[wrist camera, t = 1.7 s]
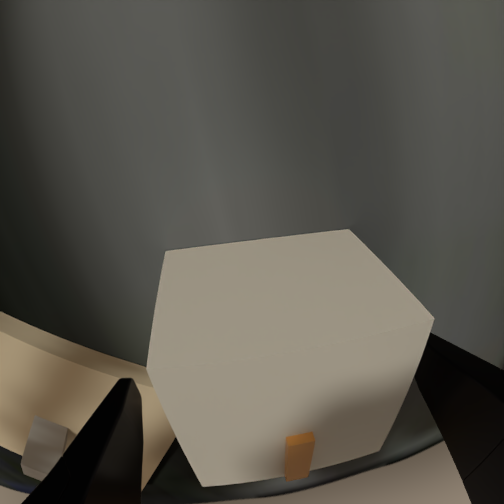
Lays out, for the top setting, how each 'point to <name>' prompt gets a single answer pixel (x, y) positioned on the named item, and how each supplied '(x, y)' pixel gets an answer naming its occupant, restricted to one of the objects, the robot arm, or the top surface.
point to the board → (64, 397)
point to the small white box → (282, 354)
